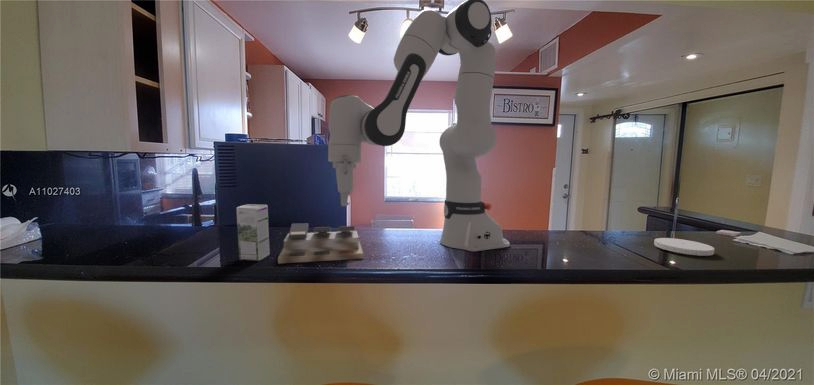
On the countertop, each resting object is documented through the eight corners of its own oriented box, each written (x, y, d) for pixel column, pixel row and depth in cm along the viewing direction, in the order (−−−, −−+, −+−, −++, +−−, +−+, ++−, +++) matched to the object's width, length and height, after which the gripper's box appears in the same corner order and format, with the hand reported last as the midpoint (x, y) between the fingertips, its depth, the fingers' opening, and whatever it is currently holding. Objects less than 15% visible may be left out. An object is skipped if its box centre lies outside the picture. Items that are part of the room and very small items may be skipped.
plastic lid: (702, 249, 99) (703, 241, 99) (722, 262, 87) (723, 253, 87) (649, 243, 106) (649, 235, 105) (660, 254, 93) (661, 246, 93)
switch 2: (352, 230, 94) (352, 226, 94) (354, 229, 87) (354, 225, 87) (337, 231, 92) (337, 227, 93) (337, 230, 86) (337, 226, 86)
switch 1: (308, 226, 91) (308, 222, 90) (306, 237, 84) (306, 234, 84) (292, 226, 90) (291, 223, 89) (288, 238, 83) (288, 235, 83)
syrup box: (270, 254, 86) (268, 203, 85) (258, 261, 80) (256, 207, 79) (251, 253, 87) (249, 203, 85) (238, 260, 81) (235, 206, 79)
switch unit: (359, 246, 96) (359, 227, 95) (363, 258, 84) (363, 237, 84) (285, 249, 91) (284, 230, 90) (278, 263, 79) (277, 241, 79)
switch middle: (331, 231, 92) (331, 227, 92) (330, 230, 85) (330, 226, 85) (315, 232, 91) (315, 228, 91) (313, 231, 84) (313, 227, 84)
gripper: (359, 156, 75) (358, 211, 76) (354, 156, 95) (353, 200, 96) (332, 155, 73) (332, 211, 75) (333, 155, 93) (332, 200, 95)
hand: (344, 205), depth 86 cm, fingers closed
